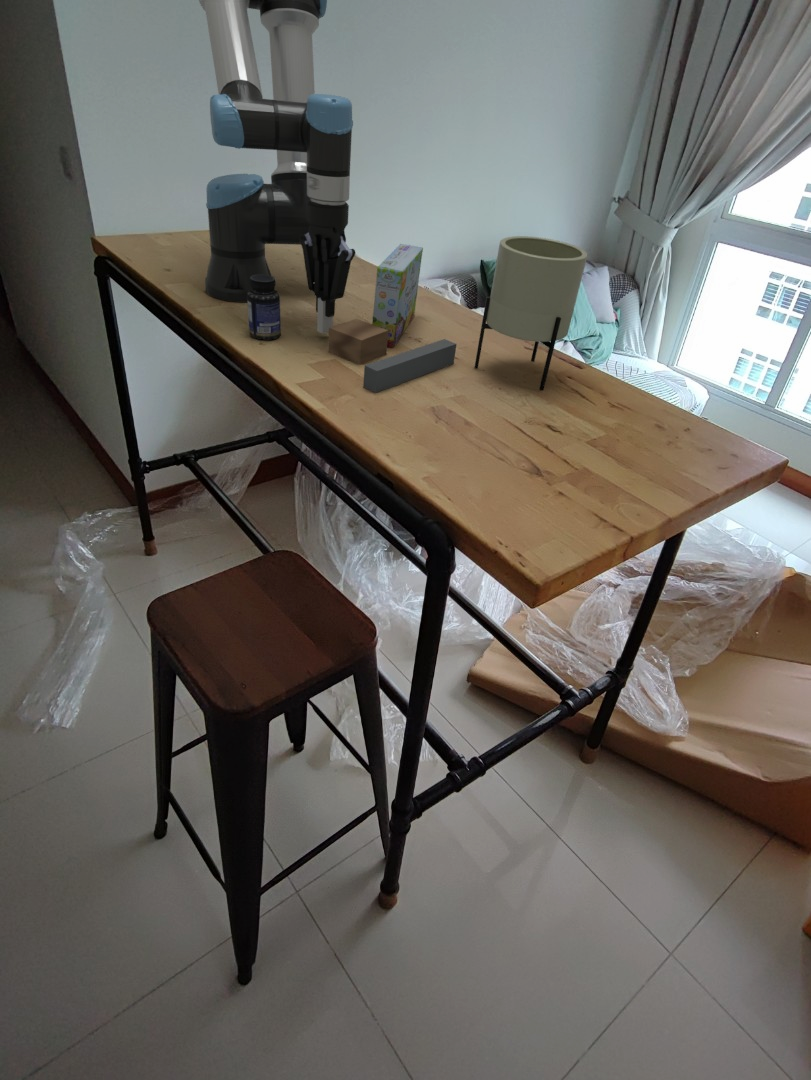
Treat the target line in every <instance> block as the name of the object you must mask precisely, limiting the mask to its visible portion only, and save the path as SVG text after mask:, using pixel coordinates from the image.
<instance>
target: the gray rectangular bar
mask: <svg viewBox="0 0 811 1080" xmlns="http://www.w3.org/2000/svg"><path fill="white" fill-rule="evenodd" d="M456 349H457V343H455V342H453V341H450V340H448V339H446V338H443V339H441V340H437V341H434V342H432V343H431V342H430V343H428V344H425V345H421V346H419V347H416V348H413V349H409V350H406V351H402V352H400V353H398V354H395V355H391V356H388V357H385V358H383V359H380V360H376V361H373V362H369V363H367V364H364V369H363V384H362V385H363V388H365V389H366V390H368V391H370V392H373V393H378V392H382V391H384V390H387V389H390V388H392V387H395V386H397V385H401V384H403V383H406V382H409V381H411V380H414V379H417V378H419V377H422V376H424V375H427V374H429V373H432V372H434V371H435V372H436V371H438V370H441V369H443V368H446V367H448V366H452V365H454V364H455V357H456Z"/></svg>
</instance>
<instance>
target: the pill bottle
mask: <svg viewBox="0 0 811 1080" xmlns="http://www.w3.org/2000/svg"><path fill="white" fill-rule="evenodd" d="M250 284H251V286H252V289H250V290H249V291H248V293H247V300H248V302H247V314H248V332H249V335H250V337H252V338H253V337H254V338H253V339H256V338H257V340H260V339H263V340H262V341H272V339H273V340H276V339H278V338H280V336H281V330H282V329H281V325H282V324H281V298H280V297H281V296H280V292H278V290H276V289H275V287H277V286H276V285H277V281H276V278H275V276H272V275H271V276H270V275H253V276H251V277H250Z"/></svg>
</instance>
